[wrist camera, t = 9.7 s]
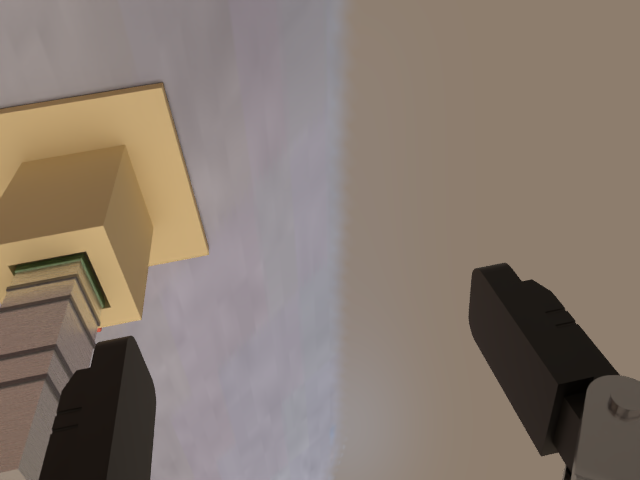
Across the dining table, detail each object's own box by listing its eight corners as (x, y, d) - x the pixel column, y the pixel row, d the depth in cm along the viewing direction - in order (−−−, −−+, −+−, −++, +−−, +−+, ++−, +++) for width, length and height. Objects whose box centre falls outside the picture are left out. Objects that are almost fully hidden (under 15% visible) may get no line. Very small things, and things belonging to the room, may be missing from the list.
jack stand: (-51, 117, 41) (-140, 206, 30) (162, 82, 42) (149, 156, 32) (35, 280, 50) (-9, 392, 40) (208, 247, 52) (210, 347, 41)
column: (35, 225, 38) (-87, 490, 22) (95, 214, 39) (19, 467, 22) (58, 271, 41) (-37, 540, 24) (114, 260, 41) (57, 519, 25)
